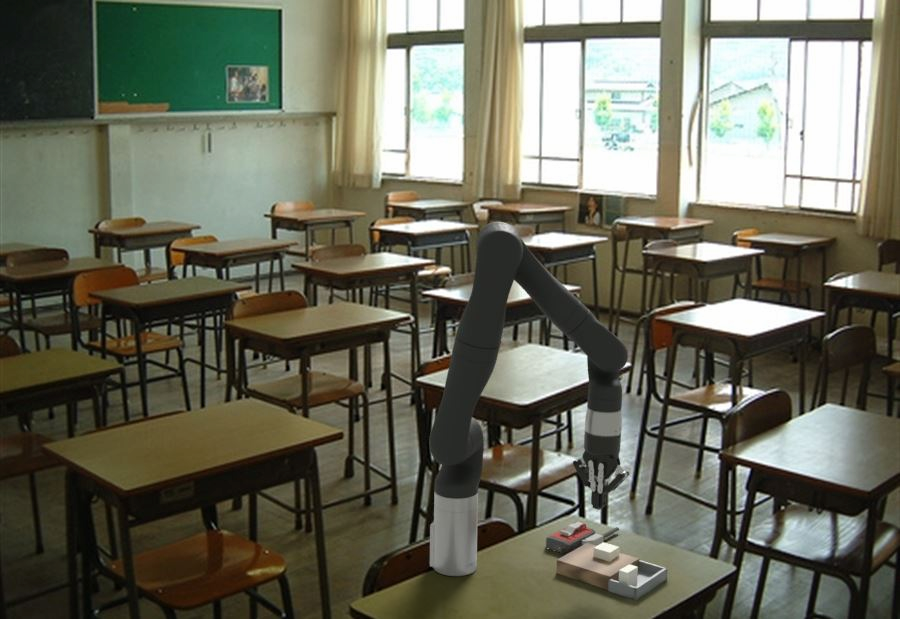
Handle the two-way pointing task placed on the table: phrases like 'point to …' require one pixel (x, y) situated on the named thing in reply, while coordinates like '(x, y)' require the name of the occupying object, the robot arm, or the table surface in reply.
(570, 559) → the tan flat block
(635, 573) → the tile
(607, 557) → the tile
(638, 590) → the box
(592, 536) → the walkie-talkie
